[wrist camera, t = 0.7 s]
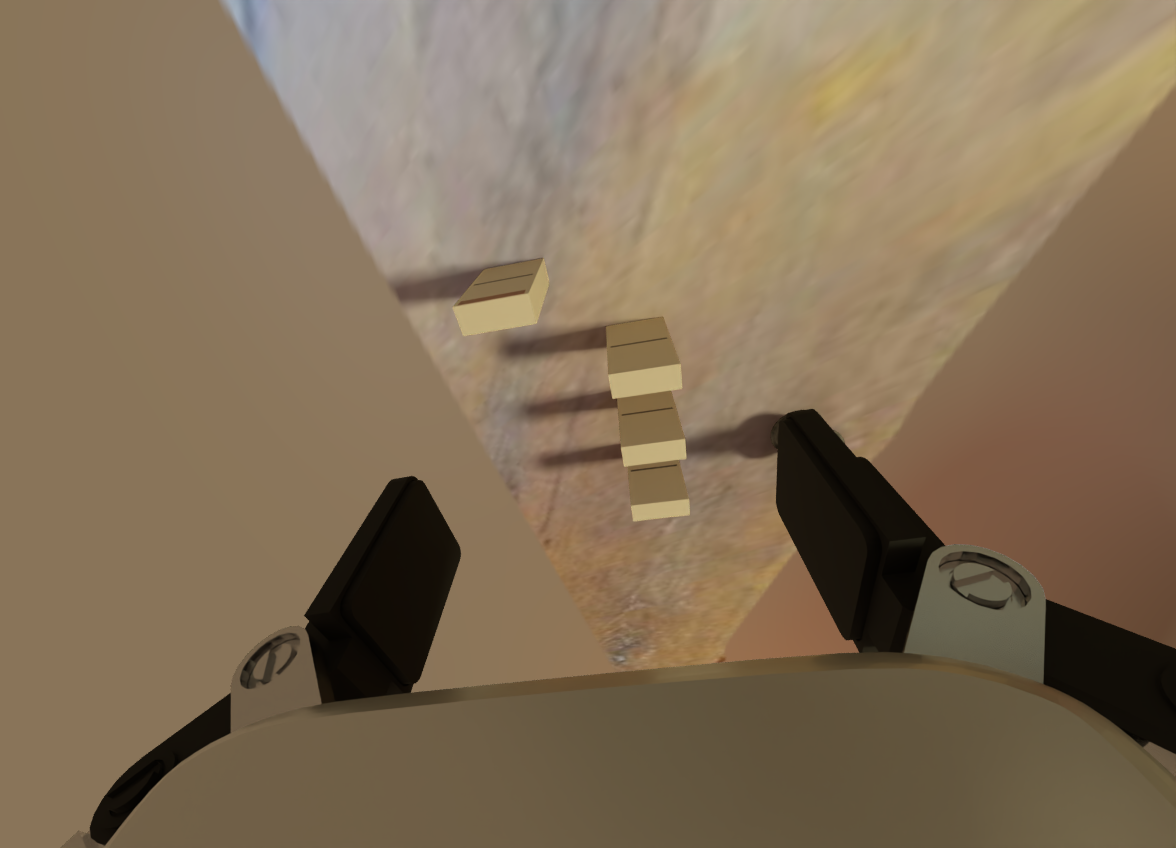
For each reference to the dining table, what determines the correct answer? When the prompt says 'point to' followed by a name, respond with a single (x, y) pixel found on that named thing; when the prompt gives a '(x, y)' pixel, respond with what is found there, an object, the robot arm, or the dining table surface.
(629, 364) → the domino
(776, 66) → the dining table surface
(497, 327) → the domino
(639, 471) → the domino
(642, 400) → the domino
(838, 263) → the dining table surface
